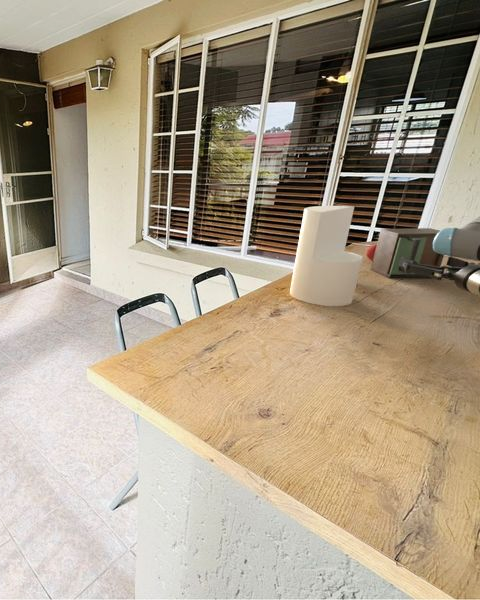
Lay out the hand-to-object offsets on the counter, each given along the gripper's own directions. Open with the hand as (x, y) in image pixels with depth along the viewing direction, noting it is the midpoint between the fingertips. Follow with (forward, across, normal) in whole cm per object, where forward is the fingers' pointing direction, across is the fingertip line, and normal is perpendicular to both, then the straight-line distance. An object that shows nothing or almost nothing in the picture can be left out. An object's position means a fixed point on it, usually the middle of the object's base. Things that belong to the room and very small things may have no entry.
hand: (424, 261), depth 115 cm
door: (+8, +1, -8) cm, 11 cm away
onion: (+34, +5, -9) cm, 35 cm away
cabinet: (+16, +5, -9) cm, 19 cm away
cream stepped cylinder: (-11, -34, -9) cm, 37 cm away
